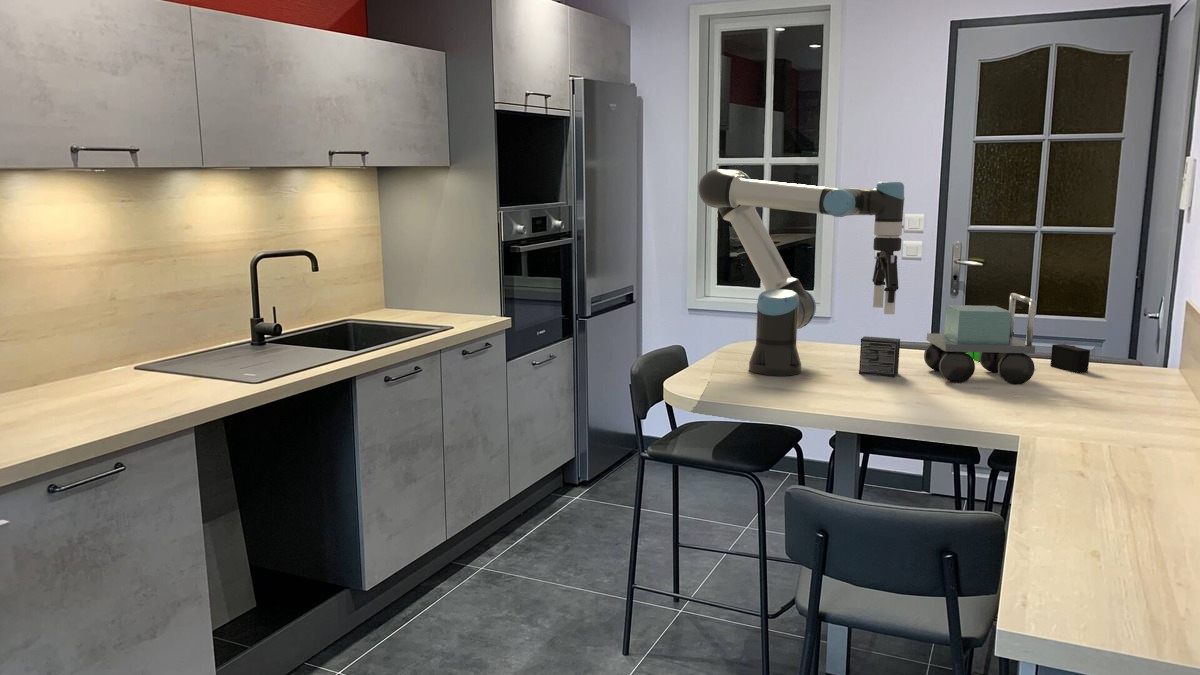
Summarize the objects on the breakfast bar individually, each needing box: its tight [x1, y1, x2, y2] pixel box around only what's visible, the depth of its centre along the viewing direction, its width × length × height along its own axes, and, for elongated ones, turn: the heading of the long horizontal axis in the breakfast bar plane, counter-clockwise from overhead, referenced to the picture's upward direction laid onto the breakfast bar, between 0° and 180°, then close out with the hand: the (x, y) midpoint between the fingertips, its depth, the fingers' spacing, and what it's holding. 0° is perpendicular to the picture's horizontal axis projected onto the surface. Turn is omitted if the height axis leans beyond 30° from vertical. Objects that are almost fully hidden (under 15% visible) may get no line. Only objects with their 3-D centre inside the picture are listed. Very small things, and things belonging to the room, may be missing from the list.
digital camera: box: [1049, 343, 1091, 374], centre depth 265 cm, size 10×5×7 cm, turn 15°
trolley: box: [923, 292, 1037, 386], centre depth 252 cm, size 25×18×24 cm
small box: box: [858, 335, 901, 378], centre depth 257 cm, size 11×6×10 cm, turn 65°
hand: (883, 310), depth 254 cm, fingers open, 13 cm apart
